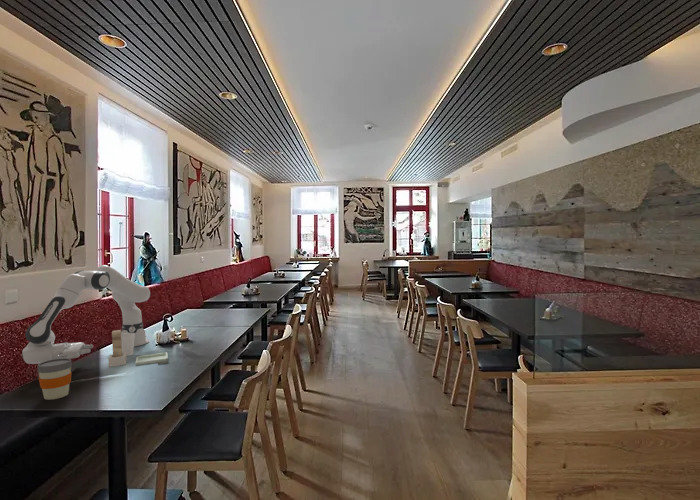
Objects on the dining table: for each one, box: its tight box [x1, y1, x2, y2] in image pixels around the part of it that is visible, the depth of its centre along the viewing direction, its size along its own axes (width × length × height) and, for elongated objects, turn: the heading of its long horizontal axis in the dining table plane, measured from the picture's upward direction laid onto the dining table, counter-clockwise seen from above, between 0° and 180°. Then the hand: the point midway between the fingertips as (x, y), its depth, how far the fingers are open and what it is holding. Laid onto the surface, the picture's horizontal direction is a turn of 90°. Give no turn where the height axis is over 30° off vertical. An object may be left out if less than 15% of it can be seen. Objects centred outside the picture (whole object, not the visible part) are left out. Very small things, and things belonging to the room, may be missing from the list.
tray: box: [135, 351, 169, 366], centre depth 234 cm, size 14×16×2 cm
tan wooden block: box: [111, 329, 122, 357], centre depth 229 cm, size 4×4×18 cm
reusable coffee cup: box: [36, 358, 73, 400], centre depth 185 cm, size 13×13×15 cm
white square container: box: [107, 353, 128, 367], centre depth 229 cm, size 8×8×6 cm
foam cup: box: [121, 333, 135, 357], centre depth 246 cm, size 10×9×13 cm
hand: (91, 348), depth 224 cm, fingers open, 8 cm apart
